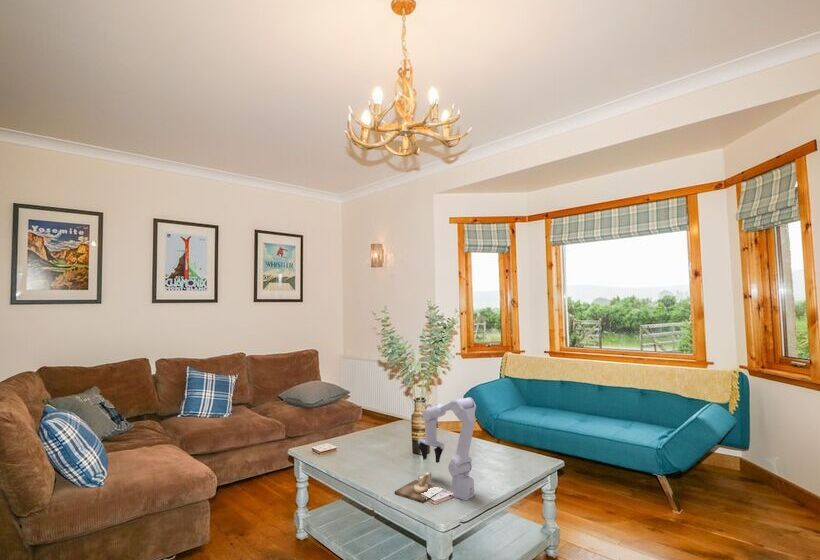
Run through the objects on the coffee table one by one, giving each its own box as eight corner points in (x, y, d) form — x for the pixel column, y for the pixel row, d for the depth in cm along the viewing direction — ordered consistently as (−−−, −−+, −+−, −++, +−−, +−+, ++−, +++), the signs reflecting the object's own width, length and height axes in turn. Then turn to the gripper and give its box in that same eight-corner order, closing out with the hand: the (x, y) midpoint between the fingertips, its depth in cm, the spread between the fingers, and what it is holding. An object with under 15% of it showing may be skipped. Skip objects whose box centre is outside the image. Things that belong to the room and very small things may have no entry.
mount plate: (442, 490, 209) (442, 487, 209) (423, 503, 196) (423, 500, 196) (415, 482, 218) (415, 479, 218) (394, 494, 205) (394, 491, 206)
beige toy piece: (423, 495, 201) (423, 481, 201) (411, 491, 204) (411, 478, 205) (435, 486, 210) (435, 473, 210) (424, 483, 213) (424, 470, 214)
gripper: (447, 433, 221) (447, 461, 220) (423, 428, 229) (423, 455, 229) (439, 436, 215) (440, 465, 215) (415, 431, 224) (415, 459, 223)
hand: (431, 460), depth 221 cm, fingers open, 7 cm apart
